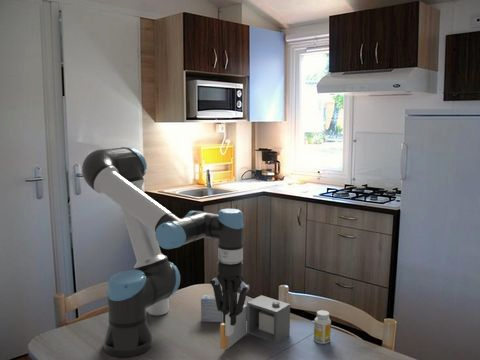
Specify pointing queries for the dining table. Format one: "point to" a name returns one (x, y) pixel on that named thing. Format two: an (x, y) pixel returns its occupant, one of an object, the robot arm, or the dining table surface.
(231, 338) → the side door
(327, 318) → the supplement bottle
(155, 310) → the pill bottle
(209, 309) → the medicine box
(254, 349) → the dining table surface
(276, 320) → the grey cabinet
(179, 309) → the dining table surface
